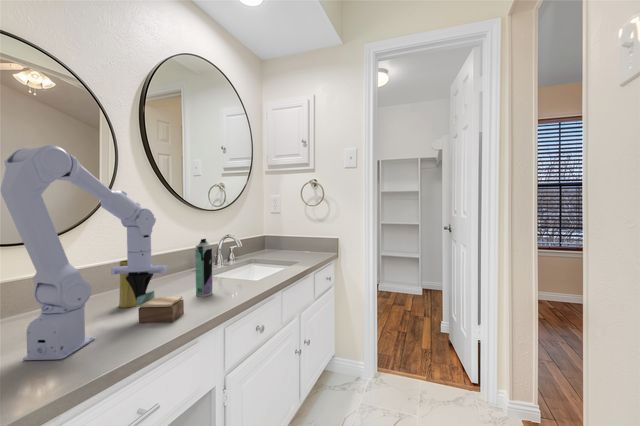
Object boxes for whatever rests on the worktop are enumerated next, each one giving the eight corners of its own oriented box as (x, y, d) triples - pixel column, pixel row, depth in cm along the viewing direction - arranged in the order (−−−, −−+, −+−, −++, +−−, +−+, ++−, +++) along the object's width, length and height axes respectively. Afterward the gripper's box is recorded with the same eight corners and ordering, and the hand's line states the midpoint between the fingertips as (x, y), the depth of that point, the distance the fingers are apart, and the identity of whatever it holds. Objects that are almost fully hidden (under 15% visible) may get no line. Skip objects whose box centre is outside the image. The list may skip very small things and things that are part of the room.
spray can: (212, 295, 103) (211, 239, 103) (195, 297, 101) (194, 239, 101) (212, 291, 108) (211, 237, 108) (196, 293, 106) (195, 238, 106)
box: (172, 322, 79) (172, 307, 79) (138, 323, 79) (138, 308, 79) (183, 313, 86) (183, 299, 86) (152, 313, 86) (152, 300, 86)
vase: (130, 308, 90) (129, 262, 90) (113, 307, 92) (112, 262, 91) (145, 302, 96) (145, 259, 96) (130, 301, 97) (129, 258, 97)
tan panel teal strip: (170, 306, 79) (170, 297, 79) (137, 307, 79) (136, 297, 79) (182, 298, 86) (182, 289, 86) (150, 299, 86) (150, 290, 86)
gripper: (172, 248, 86) (173, 294, 86) (122, 249, 86) (122, 295, 86) (160, 252, 79) (161, 302, 79) (105, 253, 79) (106, 303, 79)
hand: (140, 299), depth 82 cm, fingers closed
